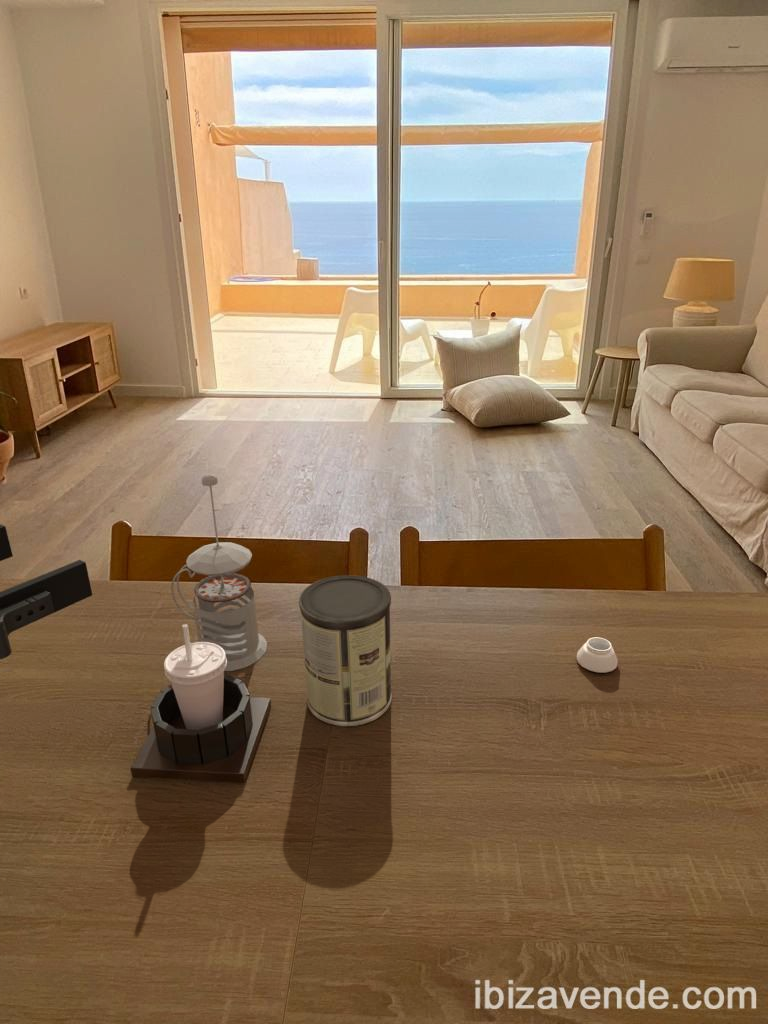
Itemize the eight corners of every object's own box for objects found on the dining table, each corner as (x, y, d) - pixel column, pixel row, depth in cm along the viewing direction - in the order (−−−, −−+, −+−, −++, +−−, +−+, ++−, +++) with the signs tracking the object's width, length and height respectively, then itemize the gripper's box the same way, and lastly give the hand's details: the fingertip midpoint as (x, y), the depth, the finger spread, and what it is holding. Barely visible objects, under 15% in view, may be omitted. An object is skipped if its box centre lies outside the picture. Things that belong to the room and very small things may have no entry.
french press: (253, 674, 88) (233, 491, 77) (167, 667, 89) (136, 486, 79) (276, 631, 96) (261, 462, 86) (197, 625, 98) (173, 458, 88)
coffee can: (337, 662, 90) (332, 566, 84) (407, 688, 85) (407, 587, 79) (288, 708, 82) (279, 605, 76) (362, 739, 77) (359, 632, 71)
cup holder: (131, 776, 72) (123, 737, 70) (172, 701, 83) (166, 665, 81) (244, 782, 71) (240, 743, 69) (271, 705, 82) (267, 669, 80)
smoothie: (164, 731, 77) (145, 623, 71) (215, 703, 81) (201, 600, 75) (195, 761, 72) (177, 649, 67) (246, 730, 77) (234, 623, 71)
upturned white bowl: (590, 647, 92) (568, 662, 89) (593, 628, 91) (570, 643, 88) (624, 663, 89) (602, 680, 86) (627, 644, 88) (605, 660, 85)
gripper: (-362, 689, 45) (-18, 563, 62) (-256, 866, 32) (143, 647, 49) (-415, 588, 42) (-39, 483, 59) (-322, 738, 30) (126, 551, 46)
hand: (44, 557), depth 54 cm, fingers open, 11 cm apart
